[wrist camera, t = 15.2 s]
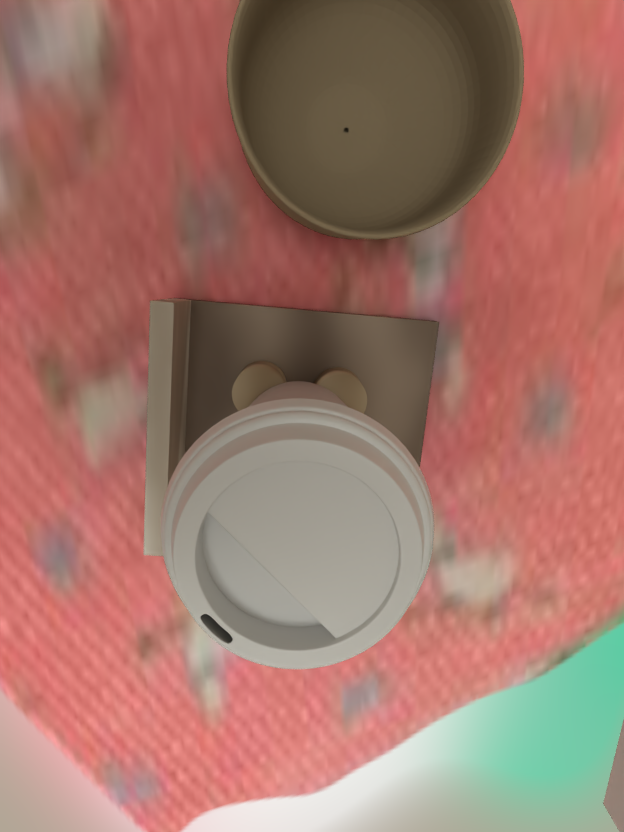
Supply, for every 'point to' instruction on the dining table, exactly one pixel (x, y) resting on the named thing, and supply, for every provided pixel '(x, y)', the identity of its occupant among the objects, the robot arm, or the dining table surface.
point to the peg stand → (273, 374)
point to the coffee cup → (297, 529)
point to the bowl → (374, 107)
